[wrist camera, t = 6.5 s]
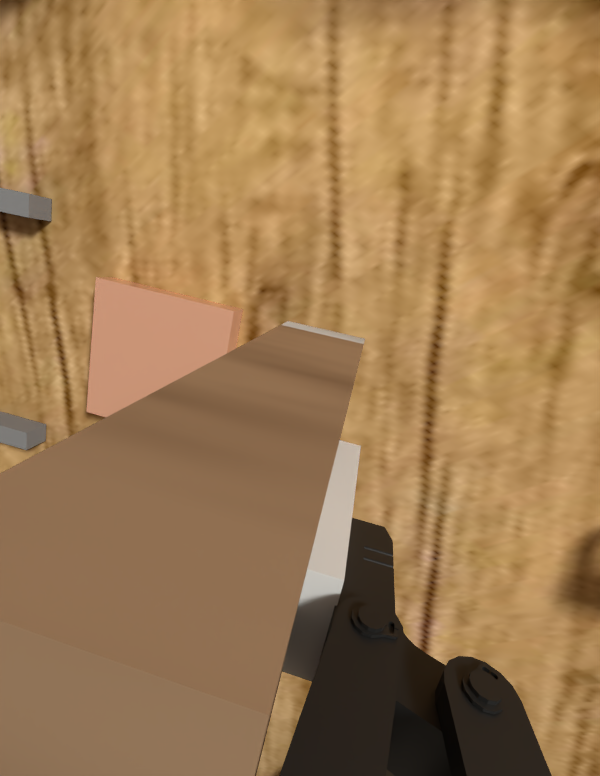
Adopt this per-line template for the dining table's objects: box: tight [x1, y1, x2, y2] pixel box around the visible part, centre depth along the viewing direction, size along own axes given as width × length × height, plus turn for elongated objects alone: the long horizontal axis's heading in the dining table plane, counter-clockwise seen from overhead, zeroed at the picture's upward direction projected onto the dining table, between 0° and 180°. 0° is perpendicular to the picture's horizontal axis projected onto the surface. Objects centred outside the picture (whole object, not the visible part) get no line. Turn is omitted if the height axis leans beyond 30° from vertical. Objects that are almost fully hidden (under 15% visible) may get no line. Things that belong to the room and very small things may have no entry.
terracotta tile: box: [87, 277, 243, 417], centre depth 24 cm, size 8×8×2 cm
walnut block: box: [0, 321, 365, 776], centre depth 11 cm, size 9×3×14 cm, turn 168°
